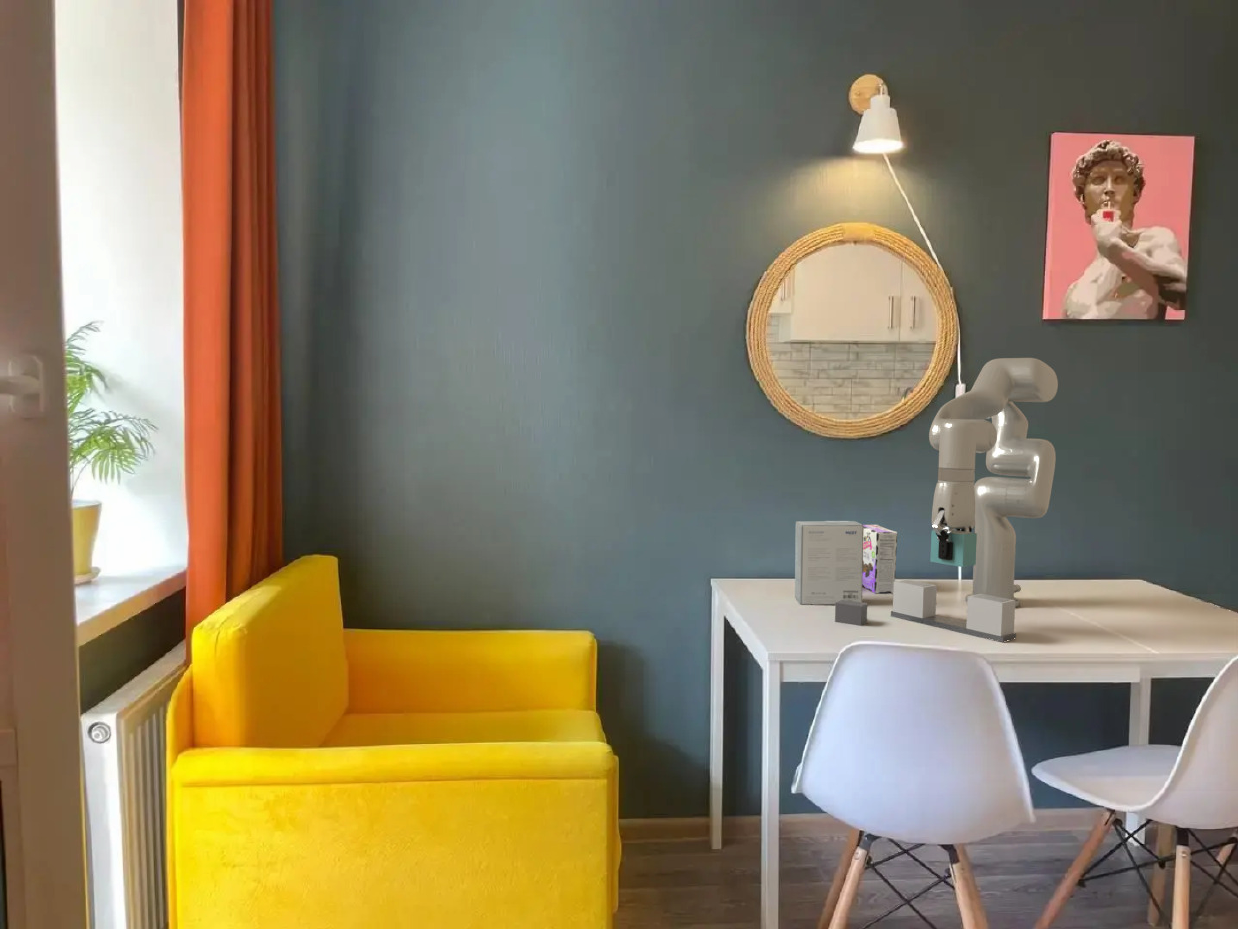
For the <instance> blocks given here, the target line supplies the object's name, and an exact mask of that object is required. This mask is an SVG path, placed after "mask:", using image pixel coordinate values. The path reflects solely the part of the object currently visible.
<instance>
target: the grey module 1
mask: <svg viewBox="0 0 1238 929" xmlns="http://www.w3.org/2000/svg"><path fill="white" fill-rule="evenodd" d="M937 586H938V585H936V584H932V583H928V582H923V581H917V580H912V579H902V580H895V582H894V590H893V594H892V597H893V598H892V611H893V612H897V613H902V614H906V615H910V616H915V617H919V618H926V617H930V616H935V615H936V613H937V590H938V589H937ZM936 616H937V615H936Z"/></svg>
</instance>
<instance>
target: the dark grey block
mask: <svg viewBox="0 0 1238 929" xmlns="http://www.w3.org/2000/svg"><path fill="white" fill-rule="evenodd" d="M834 622H835V623H838V624H839V623H840V624H844V625H846V624H847V625H853V626H860V627H862V626H864V625H865V624H866V623H867V622H868V603H867V602H863V601H862V602H854V601H847V600H840V601H838V602H836V604H835V609H834Z"/></svg>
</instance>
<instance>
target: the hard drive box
mask: <svg viewBox="0 0 1238 929" xmlns="http://www.w3.org/2000/svg"><path fill="white" fill-rule="evenodd" d="M863 525H864V524H862V523H861V522H858V521H856V520H824V521H823V520H821V521H820V520H815V521H814V520H813V521H812V520H809V521H807V520H806V521H804V520H803V521H801V520H799V521H795V545H794V546H795V551H794V552H795V553H794V554H795V555H794V556H795V559H794V561H795V564H794V566H795V567H794V571H795V572H794V599H795V598H796V599H795V600H796V601H797V602H798V603H799V605H811V604H812V606H813V605H815V606H819V605H835V604H836V602H838V601H840V600H847V601H854V602H862V603H863V586H862V575H863V531H864V526H863Z"/></svg>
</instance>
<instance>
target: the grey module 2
mask: <svg viewBox="0 0 1238 929" xmlns="http://www.w3.org/2000/svg"><path fill="white" fill-rule="evenodd" d="M966 602H967V601H966ZM966 605H967V606H966V608H967V609H966V622H967V626H966V628H967V629H971V630H976V631H980V632H984V633H989V634H993V635H997V636H1004V635H1008V634H1012V633H1015V619H1016V618H1015V617H1016V616H1015V615H1016V607H1015V600H1011V599H1005V598H1000V597H995V596H990V595H985V594H977V595H972V596H968V602H967V604H966Z"/></svg>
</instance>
